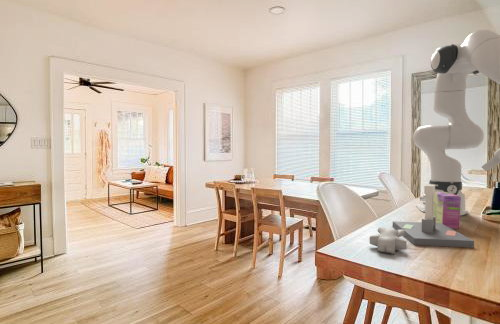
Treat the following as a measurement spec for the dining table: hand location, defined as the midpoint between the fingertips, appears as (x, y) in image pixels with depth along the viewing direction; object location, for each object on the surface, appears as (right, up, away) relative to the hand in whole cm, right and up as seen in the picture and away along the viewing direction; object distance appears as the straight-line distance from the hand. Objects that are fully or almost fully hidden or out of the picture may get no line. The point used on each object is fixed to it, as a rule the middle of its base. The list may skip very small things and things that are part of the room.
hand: (483, 169), depth 85 cm
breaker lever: (-10, -20, +10) cm, 24 cm away
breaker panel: (-10, -22, +10) cm, 26 cm away
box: (+4, -22, +23) cm, 32 cm away
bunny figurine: (-28, -23, 0) cm, 36 cm away
